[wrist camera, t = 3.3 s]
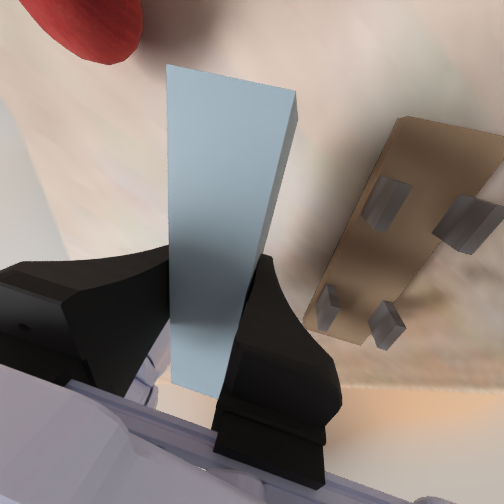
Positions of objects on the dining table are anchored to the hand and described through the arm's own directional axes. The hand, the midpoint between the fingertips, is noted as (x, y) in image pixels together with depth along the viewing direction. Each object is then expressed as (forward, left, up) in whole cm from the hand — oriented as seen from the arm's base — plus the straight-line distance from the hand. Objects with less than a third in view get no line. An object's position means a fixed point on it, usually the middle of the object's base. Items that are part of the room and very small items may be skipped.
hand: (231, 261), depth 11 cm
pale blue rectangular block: (0, 0, -2) cm, 2 cm away
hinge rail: (-1, -11, -9) cm, 14 cm away
